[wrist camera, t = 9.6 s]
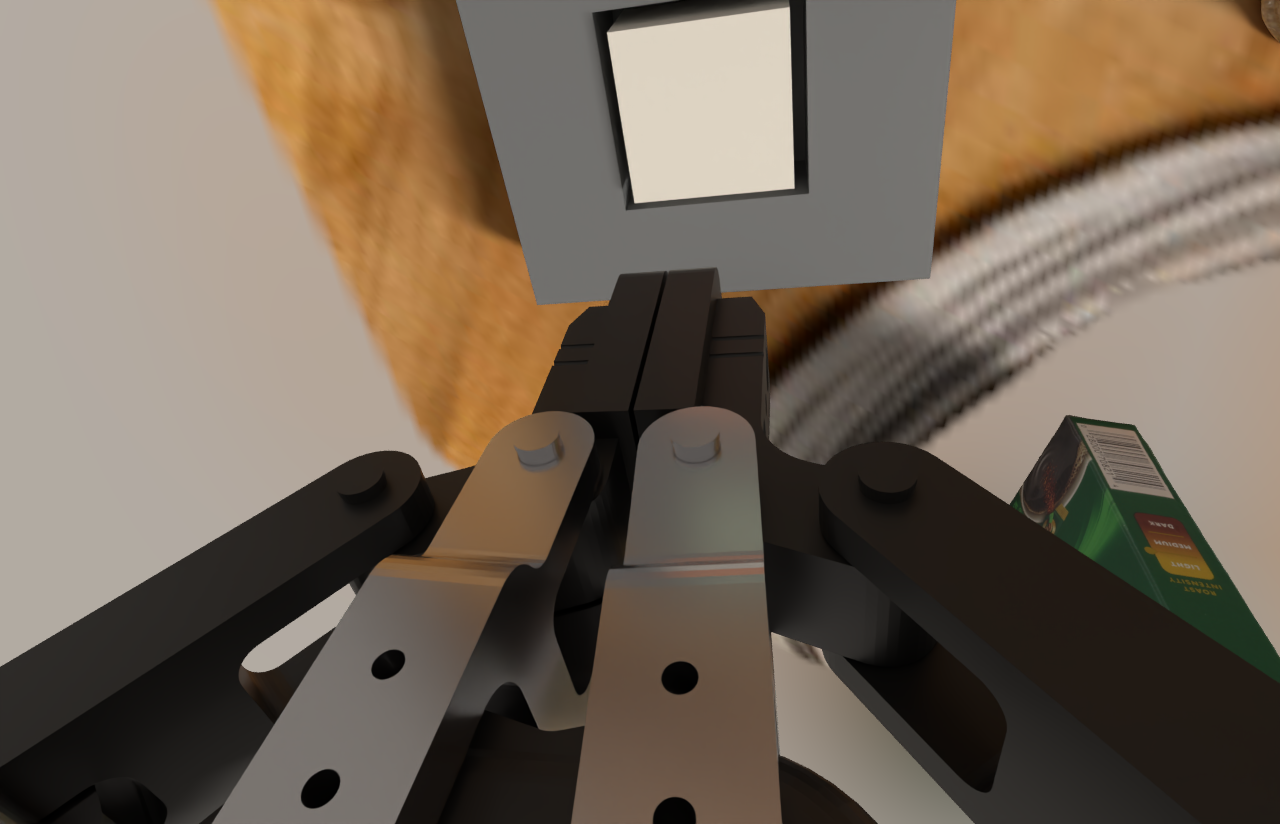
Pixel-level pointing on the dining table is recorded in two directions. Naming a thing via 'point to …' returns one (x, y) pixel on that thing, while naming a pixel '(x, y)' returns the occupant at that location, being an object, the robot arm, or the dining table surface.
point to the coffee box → (1138, 530)
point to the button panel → (736, 223)
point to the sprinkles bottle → (1271, 16)
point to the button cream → (705, 97)
